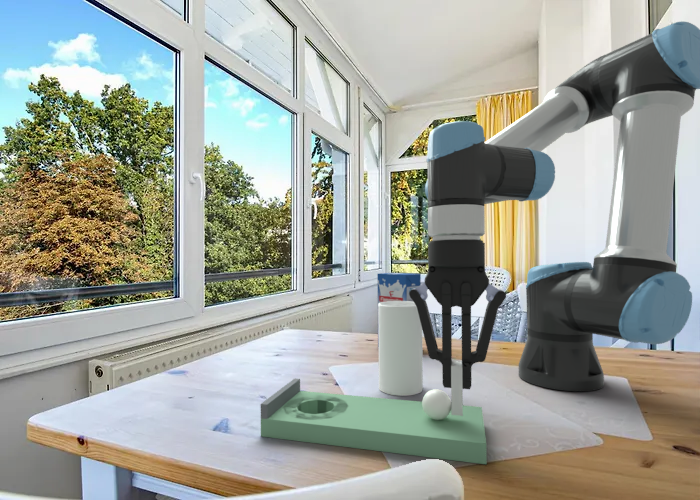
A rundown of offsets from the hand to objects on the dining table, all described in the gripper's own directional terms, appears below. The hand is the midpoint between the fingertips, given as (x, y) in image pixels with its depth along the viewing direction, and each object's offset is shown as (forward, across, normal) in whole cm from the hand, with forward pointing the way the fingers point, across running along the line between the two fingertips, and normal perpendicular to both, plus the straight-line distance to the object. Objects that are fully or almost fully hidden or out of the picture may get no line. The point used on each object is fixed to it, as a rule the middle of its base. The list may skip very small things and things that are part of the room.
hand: (457, 411), depth 56 cm
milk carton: (+4, +15, -51) cm, 54 cm away
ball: (-1, +3, 0) cm, 3 cm away
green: (+4, +12, 0) cm, 12 cm away
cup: (+4, +10, -19) cm, 22 cm away
